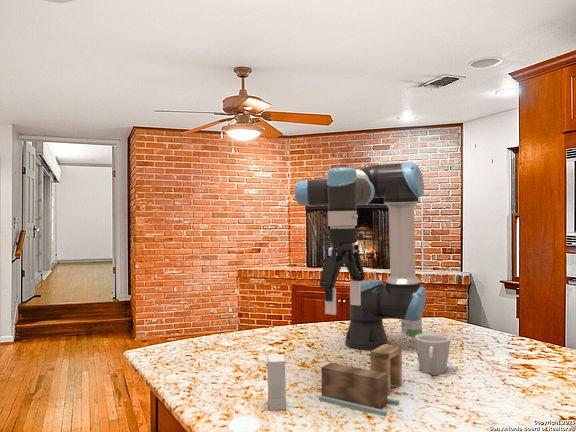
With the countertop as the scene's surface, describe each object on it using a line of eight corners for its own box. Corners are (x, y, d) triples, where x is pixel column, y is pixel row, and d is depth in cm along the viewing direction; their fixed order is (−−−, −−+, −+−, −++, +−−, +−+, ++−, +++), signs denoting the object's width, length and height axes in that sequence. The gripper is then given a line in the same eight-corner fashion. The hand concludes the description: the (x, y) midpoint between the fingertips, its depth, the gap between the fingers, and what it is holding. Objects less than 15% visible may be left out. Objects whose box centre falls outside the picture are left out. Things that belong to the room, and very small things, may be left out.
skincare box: (267, 401, 125) (267, 354, 125) (284, 400, 125) (283, 353, 125) (268, 410, 119) (268, 361, 119) (286, 410, 119) (285, 360, 119)
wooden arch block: (370, 391, 131) (370, 351, 131) (385, 381, 139) (384, 343, 139) (388, 395, 128) (387, 354, 128) (401, 385, 136) (401, 346, 136)
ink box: (422, 336, 190) (422, 305, 190) (411, 337, 189) (410, 306, 189) (411, 331, 198) (411, 302, 198) (400, 332, 197) (400, 302, 197)
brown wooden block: (321, 398, 127) (321, 367, 127) (331, 392, 131) (331, 362, 131) (378, 412, 118) (378, 378, 118) (387, 405, 122) (387, 373, 122)
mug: (451, 366, 152) (450, 334, 152) (450, 382, 138) (450, 346, 138) (416, 363, 155) (416, 332, 155) (412, 378, 141) (411, 344, 141)
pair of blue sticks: (318, 400, 125) (318, 396, 125) (335, 390, 133) (335, 386, 133) (384, 416, 115) (384, 412, 115) (399, 404, 122) (399, 400, 122)
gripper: (331, 229, 115) (332, 320, 115) (376, 226, 136) (377, 302, 136) (304, 229, 119) (305, 316, 120) (351, 225, 140) (352, 300, 140)
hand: (343, 309), depth 128 cm, fingers open, 13 cm apart
